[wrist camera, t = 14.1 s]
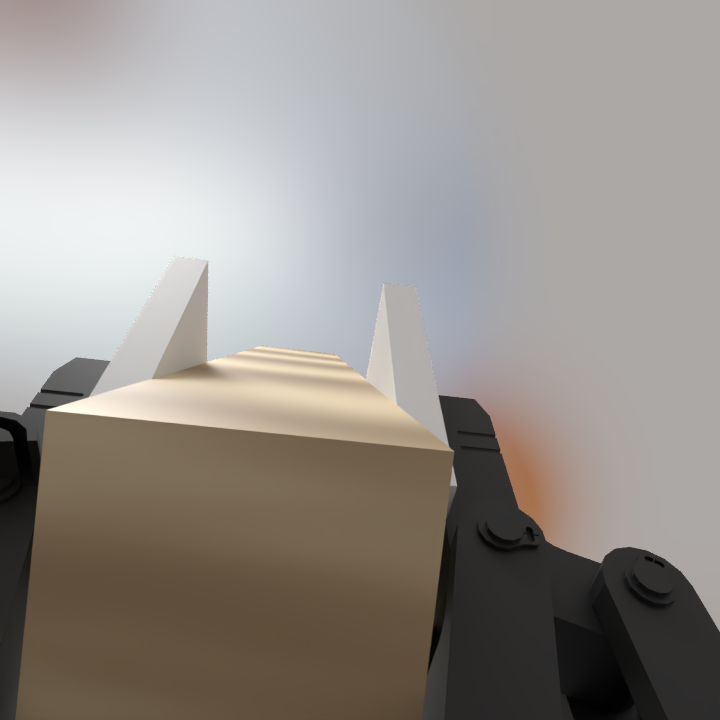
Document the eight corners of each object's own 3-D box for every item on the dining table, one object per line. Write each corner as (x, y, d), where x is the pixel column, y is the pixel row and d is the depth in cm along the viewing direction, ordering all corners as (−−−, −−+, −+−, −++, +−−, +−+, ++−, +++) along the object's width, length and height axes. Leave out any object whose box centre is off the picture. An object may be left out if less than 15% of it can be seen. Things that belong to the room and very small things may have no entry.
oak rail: (407, 832, 6) (454, 450, 6) (6, 814, 6) (45, 410, 6) (326, 426, 34) (334, 354, 34) (253, 418, 34) (261, 345, 34)
